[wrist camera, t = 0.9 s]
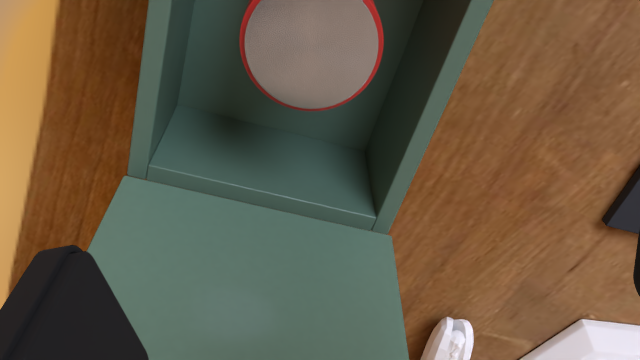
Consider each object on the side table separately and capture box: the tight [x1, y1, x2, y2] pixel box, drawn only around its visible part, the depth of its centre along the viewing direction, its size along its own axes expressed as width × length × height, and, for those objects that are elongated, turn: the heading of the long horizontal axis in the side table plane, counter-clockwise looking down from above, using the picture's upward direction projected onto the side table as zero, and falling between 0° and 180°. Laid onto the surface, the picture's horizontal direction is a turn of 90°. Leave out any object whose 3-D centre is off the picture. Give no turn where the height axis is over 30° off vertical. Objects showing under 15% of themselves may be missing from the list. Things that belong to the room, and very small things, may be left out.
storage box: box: [127, 0, 494, 234], centre depth 23 cm, size 16×12×7 cm
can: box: [239, 0, 384, 111], centre depth 22 cm, size 5×5×7 cm
